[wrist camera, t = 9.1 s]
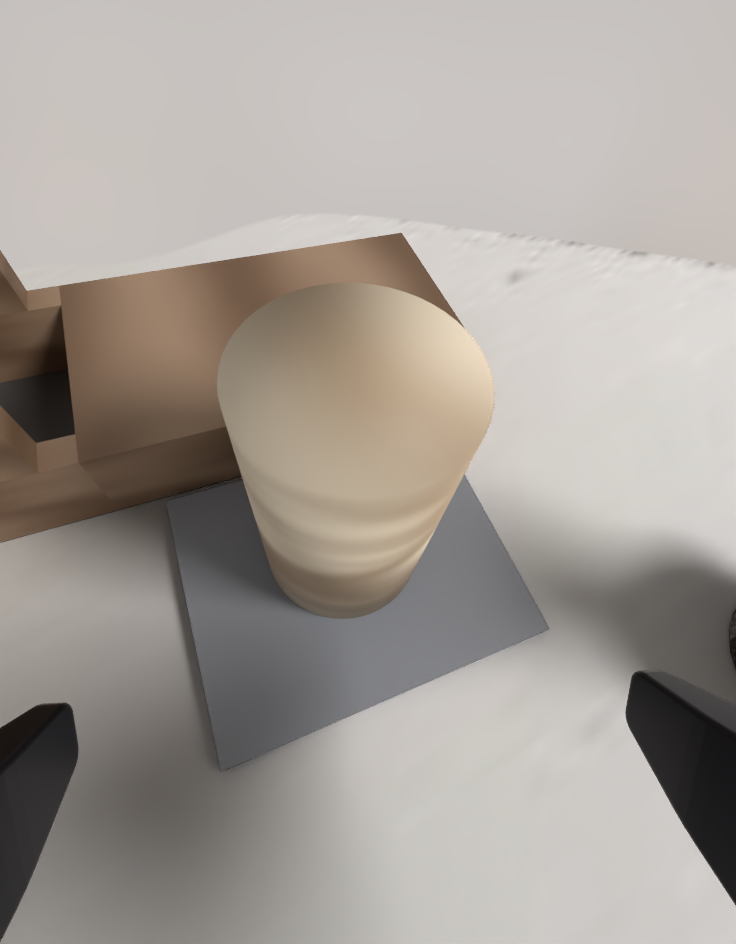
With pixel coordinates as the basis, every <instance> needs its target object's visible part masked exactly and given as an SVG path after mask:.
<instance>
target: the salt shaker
mask: <svg viewBox="0 0 736 944" xmlns="http://www.w3.org/2000/svg"><path fill="white" fill-rule="evenodd" d="M729 636H730V652H731V655H732V658H733V662H734V665H735V668H736V610H735V612H734V613H733V617H732V621H731V625H730V629H729Z"/></svg>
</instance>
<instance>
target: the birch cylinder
mask: <svg viewBox="0 0 736 944" xmlns="http://www.w3.org/2000/svg"><path fill="white" fill-rule="evenodd" d="M217 392H218V399H219V403H220V407H221V411H222V414H223V418H224V421H225V424H226V427H227V431H228V434H229V437H230V440H231V443H232V447H233V450H234V453H235V456H236V459H237V463H238V466H239V469H240V472H241V475H242V479H243V482H244V485H245V488H246V491H247V495H248V498H249V501H250V504H251V507H252V511H253V514H254V517H255V520H256V523H257V527H258V530H259V533H260V536H261V540H262V543H263V546H264V549H265V552H266V556H267V559H268V562H269V565H270V568H271V571H272V573H273V576H274V578H275V580H276V582H277V583H278V585H279V587H280V588H281V589H282V591H283V592H284V593H285V594H286V595H287V596H288V597H289V598H290V599H291V600H292V601H293V602H294V603H296V604H297V605H299V606H300V607H302V608H303V609H305V610H307V611H309V612H311V613H314V614H317V615H320V616H324V617H328V618H336V619H348V618H356V617H361V616H365V615H368V614H371V613H373V612H375V611H377V610H379V609H381V608H383V607H384V606H386V605H387V604H389V603H390V602H391V601H392V600H393V599H394V598H395V597H397V596H398V594H399V593H400V592H401V591H402V590H403V588H404V587H405V585H406V584H407V582H408V580H409V579H410V577H411V575H412V573H413V571H414V569H415V567H416V565H417V563H418V561H419V560H420V558H421V556H422V554H423V552H424V550H425V548H426V546H427V544H428V542H429V541H430V539H431V537H432V535H433V533H434V531H435V529H436V527H437V525H438V523H439V522H440V520H441V518H442V516H443V514H444V512H445V510H446V508H447V506H448V504H449V503H450V501H451V499H452V497H453V495H454V493H455V491H456V489H457V487H458V485H459V484H460V482H461V480H462V478H463V476H464V474H465V472H466V470H467V468H468V466H469V465H470V463H471V461H472V459H473V457H474V455H475V453H476V451H477V449H478V447H479V446H480V444H481V442H482V440H483V438H484V436H485V434H486V432H487V429H488V427H489V424H490V422H491V418H492V414H493V410H494V398H495V392H494V383H493V378H492V374H491V370H490V367H489V365H488V362H487V360H486V358H485V356H484V354H483V352H482V350H481V349H480V347H479V346H478V344H477V342H476V341H475V340H474V339H473V337H472V336H471V335H470V334H469V332H468V331H467V330H466V329H465V328H464V327H463V326H462V325H461V324H459V323H458V322H457V321H456V320H455V319H454V318H452V317H451V316H450V315H448V314H447V313H446V312H444V311H443V310H441V309H440V308H438V307H436V306H435V305H433V304H431V303H429V302H427V301H425V300H423V299H421V298H419V297H417V296H414V295H411V294H409V293H406V292H403V291H400V290H396V289H393V288H389V287H384V286H379V285H373V284H364V283H331V284H323V285H317V286H311V287H307V288H303V289H299V290H296V291H293V292H291V293H288V294H285V295H283V296H281V297H279V298H277V299H275V300H272V301H270V302H269V303H267V304H266V305H264V306H262V307H261V308H259V309H258V310H256V311H255V312H254V313H253V314H252V315H250V316H249V317H248V318H247V319H246V320H245V321H244V322H243V323H242V324H241V325H240V326H239V327H238V328H237V329H236V331H235V332H234V334H233V335H232V337H231V338H230V340H229V341H228V343H227V345H226V347H225V349H224V351H223V353H222V357H221V360H220V364H219V367H218V375H217Z"/></svg>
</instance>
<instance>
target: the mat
mask: <svg viewBox="0 0 736 944" xmlns="http://www.w3.org/2000/svg"><path fill="white" fill-rule="evenodd" d="M166 504H167V509H168V514H169V519H170V524H171V529H172V534H173V539H174V544H175V549H176V554H177V559H178V564H179V569H180V574H181V578H182V583H183V588H184V593H185V598H186V603H187V608H188V613H189V618H190V623H191V628H192V633H193V638H194V643H195V648H196V653H197V657H198V662H199V667H200V672H201V677H202V682H203V687H204V692H205V697H206V702H207V707H208V712H209V717H210V722H211V727H212V732H213V736H214V741H215V746H216V751H217V756H218V761H219V766H220V771H224V770H227V769H229V768H231V767H234V766H236V765H238V764H240V763H243V762H245V761H247V760H250V759H252V758H254V757H256V756H259V755H261V754H263V753H266V752H268V751H270V750H273V749H275V748H277V747H279V746H282V745H284V744H286V743H289V742H291V741H293V740H296V739H298V738H300V737H302V736H305V735H307V734H309V733H312V732H314V731H316V730H319V729H321V728H323V727H325V726H328V725H330V724H332V723H335V722H337V721H339V720H342V719H344V718H346V717H348V716H351V715H353V714H355V713H358V712H360V711H362V710H365V709H367V708H369V707H371V706H374V705H376V704H378V703H381V702H383V701H385V700H388V699H390V698H392V697H394V696H397V695H399V694H401V693H404V692H406V691H408V690H411V689H413V688H415V687H417V686H420V685H422V684H424V683H427V682H429V681H431V680H434V679H436V678H438V677H440V676H443V675H445V674H447V673H450V672H452V671H454V670H457V669H459V668H461V667H463V666H466V665H468V664H470V663H473V662H475V661H477V660H480V659H482V658H484V657H486V656H489V655H491V654H493V653H496V652H498V651H500V650H503V649H505V648H507V647H509V646H512V645H514V644H516V643H519V642H521V641H523V640H526V639H528V638H530V637H532V636H535V635H537V634H539V633H542V632H544V631H546V630H548V629H549V627H548V625H547V623H546V621H545V619H544V618H543V616H542V614H541V612H540V610H539V609H538V607H537V605H536V603H535V601H534V600H533V598H532V596H531V594H530V592H529V590H528V589H527V587H526V585H525V583H524V581H523V580H522V578H521V576H520V574H519V572H518V571H517V569H516V567H515V565H514V563H513V561H512V560H511V558H510V556H509V554H508V552H507V551H506V549H505V547H504V545H503V543H502V541H501V540H500V538H499V536H498V534H497V532H496V531H495V529H494V527H493V525H492V523H491V522H490V520H489V518H488V516H487V514H486V512H485V511H484V509H483V507H482V505H481V503H480V502H479V500H478V498H477V496H476V494H475V493H474V491H473V489H472V487H471V485H470V483H469V482H468V480H467V478H466V476H465V474H464V476H463V478H462V480H461V482H460V484H459V485H458V487H457V489H456V491H455V493H454V495H453V497H452V499H451V501H450V503H449V504H448V506H447V508H446V510H445V512H444V514H443V516H442V518H441V520H440V522H439V523H438V525H437V527H436V529H435V531H434V533H433V535H432V537H431V539H430V541H429V542H428V544H427V546H426V548H425V550H424V552H423V554H422V556H421V558H420V560H419V561H418V563H417V565H416V567H415V569H414V571H413V573H412V575H411V577H410V579H409V580H408V582H407V584H406V585H405V587H404V588H403V590H402V591H401V592H400V593H399V594H398V596H397V597H395V598H394V599H393V600H392V601H391V602H390V603H389V604H387V605H386V606H384V607H383V608H381V609H379V610H377V611H375V612H373V613H371V614H368V615H365V616H361V617H356V618H348V619H336V618H328V617H324V616H320V615H317V614H314V613H311V612H309V611H307V610H305V609H303V608H302V607H300V606H299V605H297V604H296V603H294V602H293V601H292V600H291V599H290V598H289V597H288V596H287V595H286V594H285V593H284V592H283V591H282V589H281V588H280V587H279V585H278V583H277V582H276V580H275V578H274V576H273V573H272V571H271V568H270V565H269V562H268V559H267V556H266V552H265V549H264V546H263V543H262V540H261V536H260V533H259V530H258V527H257V523H256V520H255V517H254V514H253V511H252V507H251V504H250V501H249V498H248V495H247V491H246V488H245V485H244V482H243V480H241V481H237V482H234V483H230V484H226V485H223V486H219V487H216V488H212V489H208V490H205V491H201V492H198V493H194V494H190V495H187V496H183V497H180V498H176V499H172V500H169V501H166Z"/></svg>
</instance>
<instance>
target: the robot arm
mask: <svg viewBox="0 0 736 944" xmlns="http://www.w3.org/2000/svg"><path fill="white" fill-rule="evenodd" d="M626 720H627V723H628V726H629V728H630V730H631V732H632V734H633V736H634V738H635V739H636V741H637V743H638V745H639V747H640V748H641V750H642V752H643V754H644V756H645V757H646V759H647V761H648V763H649V765H650V767H651V768H652V770H653V772H654V774H655V776H656V777H657V779H658V781H659V783H660V785H661V786H662V788H663V790H664V792H665V794H666V796H667V797H668V799H669V801H670V803H671V805H672V806H673V808H674V810H675V812H676V813H677V815H678V817H679V819H680V820H681V822H682V824H683V825H684V827H685V829H686V830H687V832H688V833H689V835H690V836H691V838H692V840H693V841H694V843H695V844H696V846H697V847H698V849H699V850H700V852H701V853H702V855H703V856H704V858H705V860H706V861H707V863H708V864H709V866H710V867H711V869H712V870H713V872H714V873H715V875H716V876H717V878H718V879H719V881H720V882H721V884H722V885H723V887H724V888H725V890H726V891H727V893H728V894H729V896H730V898H731V899H732V901H733V902H734V904H735V905H736V705H735V704H733V703H731V702H728V701H726V700H724V699H722V698H720V697H718V696H715V695H713V694H711V693H709V692H707V691H705V690H703V689H700V688H698V687H696V686H694V685H692V684H690V683H688V682H685V681H683V680H681V679H679V678H677V677H675V676H672V675H670V674H668V673H666V672H664V671H661V670H641V671H637V672H635V673H634V674H633V676H632V678H631V683H630V689H629V695H628V700H627V706H626ZM77 759H78V741H77V735H76V728H75V722H74V715H73V710H72V708H71V706H70V705H69V704H67V703H48V704H40V705H37V706H35V707H33V708H32V709H30V710H28V711H27V712H25V713H24V714H22V715H20V716H19V717H17V718H16V719H14V720H12V721H11V722H9V723H8V724H6V725H5V726H3V727H1V728H0V941H1V939H2V937H3V935H4V933H5V931H6V929H7V927H8V925H9V923H10V921H11V919H12V917H13V915H14V913H15V911H16V909H17V907H18V905H19V903H20V901H21V899H22V897H23V895H24V892H25V890H26V888H27V886H28V884H29V881H30V879H31V877H32V874H33V872H34V869H35V867H36V865H37V862H38V860H39V857H40V855H41V852H42V850H43V847H44V844H45V842H46V839H47V837H48V834H49V832H50V829H51V827H52V824H53V822H54V819H55V817H56V814H57V812H58V809H59V807H60V804H61V802H62V799H63V797H64V794H65V791H66V789H67V786H68V784H69V781H70V779H71V776H72V774H73V771H74V769H75V766H76V763H77Z"/></svg>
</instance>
